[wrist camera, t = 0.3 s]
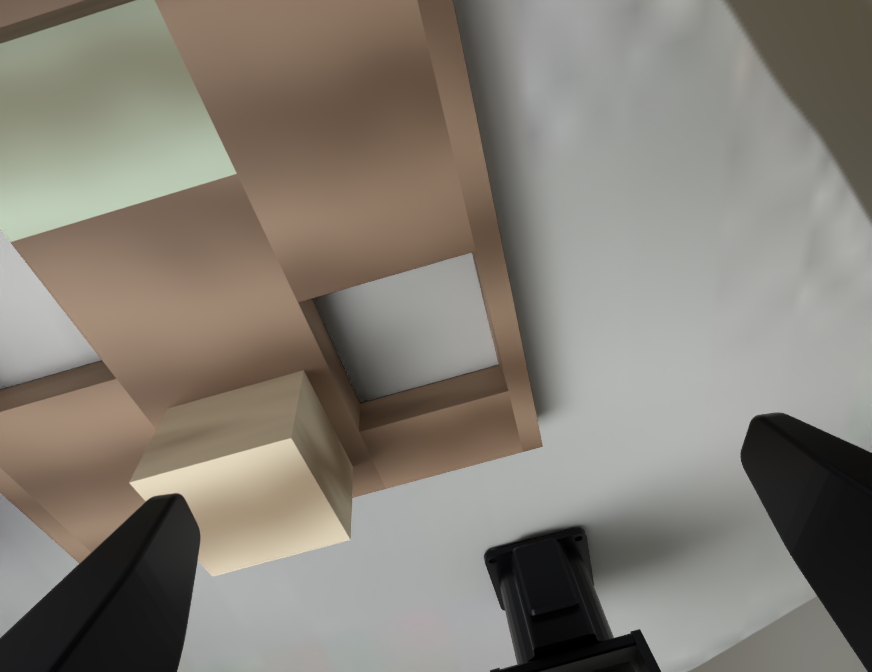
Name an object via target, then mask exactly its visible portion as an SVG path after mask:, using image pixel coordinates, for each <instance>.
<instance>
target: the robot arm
mask: <svg viewBox="0 0 872 672" xmlns="http://www.w3.org/2000/svg"><path fill="white" fill-rule="evenodd" d="M741 462H742V465H743V468H744V470H745V472H746V474H747V476H748V477H749V479H750V481H751V483H752V485H753V487H754V489H755V490H756V492H757V494H758V496H759V498H760V500H761V502H762V504H763V505H764V507H765V509H766V511H767V513H768V515H769V517H770V518H771V520H772V522H773V524H774V526H775V528H776V530H777V532H778V533H779V535H780V537H781V539H782V541H783V543H784V544H785V546H786V548H787V550H788V551H789V553H790V555H791V556H792V558H793V559H794V561H795V563H796V564H797V566H798V567H799V569H800V571H801V572H802V574H803V575H804V577H805V578H806V580H807V581H808V583H809V584H810V586H811V587H812V589H813V590H814V592H815V593H816V595H817V596H818V598H819V599H820V601H821V602H822V603H823V605H824V607H825V608H826V610H827V611H828V612H829V614H830V616H831V617H832V619H833V620H834V622H835V623H836V625H837V626H838V628H839V629H840V631H841V632H842V634H843V635H844V637H845V638H846V640H847V641H848V643H849V644H850V646H851V647H852V649H853V650H854V652H855V653H856V655H857V656H858V658H859V659H860V661H861V662H862V664H863V665H864V667H865V668H866V670H867V671H868V672H872V453H871V452H869V451H866V450H864V449H862V448H860V447H858V446H855V445H853V444H851V443H849V442H847V441H844V440H842V439H840V438H838V437H836V436H833V435H831V434H829V433H827V432H825V431H822V430H820V429H818V428H816V427H814V426H811V425H809V424H807V423H805V422H802V421H800V420H798V419H796V418H794V417H791V416H789V415H787V414H784V413H770V414H762V415H757V416H755V417H754V418H753V419H752V420H751V422H750V424H749V428H748V431H747V434H746V437H745V440H744V443H743V446H742V449H741ZM200 541H201V535H200V529H199V526H198V524H197V522H196V520H195V518H194V516H193V514H192V512H191V510H190V508H189V506H188V504H187V502H186V500H185V498H184V496H182V495H181V494H179V493H172V494H165V495H158V496H154V497H151V498H149V499H148V500H147V501H146V502H145V503H144V504H142V505H141V506H140V507H139V508H138V509H137V510H136V511H135V512H134V513H133V514H132V515H131V516H130V517H129V518H128V519H127V520H125V521H124V522H123V523H122V524H121V525H120V526H119V527H118V528H117V529H116V530H115V531H114V532H113V533H112V534H111V535H109V536H108V537H107V538H106V539H105V540H104V541H103V542H102V543H101V544H100V545H99V546H98V547H97V548H96V549H95V550H94V551H92V552H91V553H90V554H89V555H88V556H87V557H86V558H85V559H84V560H83V561H82V562H81V563H80V564H79V565H78V566H76V567H75V568H74V569H73V570H72V571H71V572H70V573H69V574H68V575H67V576H66V577H65V578H64V579H63V580H62V581H61V582H59V583H58V584H57V585H56V586H55V587H54V588H53V589H52V590H51V591H50V592H49V593H48V594H47V595H46V596H45V597H44V598H42V599H41V600H40V601H39V602H38V603H37V604H36V605H35V606H34V607H33V608H32V609H31V610H30V611H29V612H28V613H26V614H25V615H24V616H23V617H22V618H21V619H20V620H19V621H18V622H17V623H16V624H15V625H14V626H13V627H12V628H11V629H9V630H8V631H7V632H6V633H5V634H4V635H3V636H2V637H1V638H0V672H177V670H178V666H179V662H180V658H181V654H182V650H183V646H184V641H185V635H186V630H187V624H188V618H189V611H190V605H191V599H192V592H193V586H194V580H195V574H196V567H197V561H198V555H199V548H200ZM484 560H485V564H486V567H487V570H488V573H489V575H490V578H491V581H492V584H493V587H494V589H495V592H496V595H497V598H498V601H499V604H500V606H501V609H502V610H505V612H506V616H507V621H508V625H509V629H510V634H511V638H512V643H513V647H514V651H515V656H516V660H517V664H518V665H515V666H511V667H507V668H504V669H500V668H497V669H493V670H490V672H661V671H660V669H659V666H658V664H657V662H656V660H655V658H654V656H653V654H652V652H651V650H650V648H649V646H648V644H647V642H646V640H645V638H644V636H643V634H642V632H641V630H640V629H638V630H635V631H631V632H630V633H631V634H627V635H624V636H620V637H617V638H614V637H613V634H612V632H611V629H610V627H609V624H608V622H607V619H606V616H605V614H604V611H603V609H602V606H601V604H600V601H599V599H598V596H597V594H596V591H595V588H594V582H593V575H592V569H591V563H590V556H589V550H588V543H587V537H586V534H585V532H584V530H583V529H581V528H575V529H572V530H568V531H564V532H560V533H556V534H552V535H549V536H545V537H541V538H537V539H533V540H529V541H526V542H522V543H518V544H514V545H510V546H506V547H502V548H499V549H495V550H491V551H488V552H486V553H485V554H484Z"/></svg>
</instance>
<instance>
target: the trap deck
mask: <svg viewBox="0 0 872 672" xmlns="http://www.w3.org/2000/svg"><path fill="white" fill-rule="evenodd" d="M0 230H1V231H2V232H3V233H4V235H5V236H6V237H7V239H8V240H9V241H10V242H11V244H12V245H13V246H14V248H15V249H16V250H17V251H18V253H19V254H20V255H21V257H22V258H23V259H24V260H25V262H26V263H27V264H28V266H29V267H30V268H31V269H32V271H33V272H34V273H35V275H36V276H37V277H38V278H39V280H40V281H41V282H42V284H43V285H44V286H45V287H46V289H47V290H48V291H49V293H50V294H51V295H52V296H53V298H54V299H55V300H56V302H57V303H58V304H59V305H60V307H61V308H62V309H63V311H64V312H65V313H66V314H67V316H68V317H69V318H70V320H71V321H72V322H73V323H74V325H75V326H76V327H77V329H78V330H79V331H80V332H81V334H82V335H83V336H84V338H85V339H86V340H87V341H88V343H89V344H90V345H91V347H92V348H93V349H94V350H95V352H96V353H97V354H98V356H99V357H100V358H101V359H102V361H99V362H96V363H92V364H89V365H85V366H82V367H78V368H75V369H71V370H68V371H64V372H61V373H57V374H54V375H50V376H47V377H43V378H40V379H37V380H33V381H30V382H26V383H23V384H19V385H16V386H12V387H9V388H5V389H2V390H0V493H1V494H2V495H3V496H5V497H6V498H7V499H8V500H9V501H10V502H11V503H12V504H13V505H15V506H16V507H17V508H18V509H19V510H20V511H21V512H22V513H24V514H25V515H26V516H27V517H28V518H29V519H30V520H31V521H32V522H34V523H35V524H36V525H37V526H38V527H39V528H40V529H41V530H43V531H44V532H45V533H46V534H47V535H48V536H49V537H50V538H52V539H53V540H54V541H55V542H56V543H57V544H58V545H59V546H60V547H62V548H63V549H64V550H65V551H66V552H67V553H68V554H69V555H71V556H72V557H73V558H74V559H75V560H76V561H77V562H78V563H81V562H82V561H83V560H84V559H85V558H86V557H87V556H88V555H89V554H90V553H91V552H92V551H94V550H95V549H96V548H97V547H98V546H99V545H100V544H101V543H102V542H103V541H104V540H105V539H106V538H107V537H108V536H109V535H111V534H112V533H113V532H114V531H115V530H116V529H117V528H118V527H119V526H120V525H121V524H122V523H123V522H124V521H125V520H127V519H128V518H129V517H130V516H131V515H132V514H133V513H134V512H135V511H136V510H137V509H138V508H139V507H140V506H141V505H142V504H144V503H145V502H146V501H145V500H144V499H143V498H142V497H141V496H140V495H139V493H138V492H137V491H136V490H135V489H134V488H133V487H132V486H131V484H130V483H129V482H130V480H131V478H132V476H133V474H134V472H135V470H136V468H137V466H138V464H139V462H140V460H141V458H142V456H143V455H144V453H145V451H146V449H147V447H148V445H149V443H150V441H151V439H152V437H153V435H154V433H155V431H156V429H157V427H158V426H159V424H160V422H161V420H162V418H163V416H164V414H165V412H166V410H167V409H168V408H171V407H175V406H179V405H182V404H186V403H189V402H193V401H196V400H200V399H203V398H207V397H211V396H214V395H218V394H221V393H225V392H228V391H232V390H235V389H239V388H242V387H246V386H250V385H253V384H257V383H260V382H264V381H267V380H271V379H274V378H278V377H281V376H285V375H289V374H292V373H296V372H299V371H303V370H304V372H305V374H306V376H307V378H308V380H309V381H310V383H311V385H312V387H313V389H314V391H315V393H316V395H317V397H318V399H319V401H320V403H321V405H322V407H323V409H324V411H325V413H326V415H327V417H328V419H329V421H330V423H331V425H332V427H333V428H334V430H335V432H336V434H337V436H338V438H339V440H340V442H341V444H342V446H343V448H344V450H345V452H346V454H347V456H348V458H349V460H350V462H351V464H352V466H353V485H352V498H353V497H357V496H361V495H364V494H368V493H372V492H375V491H379V490H383V489H387V488H390V487H394V486H398V485H402V484H405V483H409V482H413V481H416V480H420V479H424V478H428V477H431V476H435V475H439V474H442V473H446V472H450V471H454V470H457V469H461V468H465V467H469V466H472V465H476V464H480V463H483V462H487V461H491V460H495V459H498V458H502V457H506V456H509V455H513V454H517V453H521V452H524V451H528V450H532V449H536V448H539V447H543V446H542V441H541V436H540V431H539V426H538V421H537V416H536V411H535V406H534V401H533V396H532V391H531V386H530V381H529V376H528V371H527V366H526V361H525V356H524V351H523V346H522V341H521V336H520V331H519V326H518V322H517V317H516V312H515V307H514V302H513V297H512V292H511V287H510V282H509V277H508V272H507V267H506V262H505V257H504V252H503V247H502V242H501V237H500V232H499V227H498V222H497V217H496V212H495V207H494V202H493V197H492V192H491V187H490V182H489V177H488V172H487V167H486V163H485V158H484V153H483V148H482V143H481V138H480V133H479V128H478V123H477V118H476V113H475V108H474V103H473V98H472V93H471V88H470V83H469V78H468V73H467V68H466V63H465V58H464V53H463V48H462V43H461V38H460V33H459V28H458V23H457V18H456V13H455V8H454V4H453V0H0ZM471 252H472V254H473V258H474V262H475V267H476V271H477V275H478V279H479V283H480V288H481V292H482V296H483V300H484V304H485V308H486V313H487V317H488V321H489V325H490V329H491V334H492V338H493V342H494V346H495V350H496V355H497V359H498V363H499V365H498V366H494V367H491V368H487V369H484V370H480V371H476V372H473V373H469V374H465V375H462V376H458V377H455V378H451V379H447V380H444V381H440V382H437V383H433V384H429V385H426V386H422V387H419V388H415V389H411V390H408V391H404V392H401V393H397V394H393V395H390V396H386V397H383V398H379V399H375V400H372V401H368V402H364V403H361V404H360V403H359V400H358V398H357V396H356V394H355V392H354V389H353V387H352V385H351V383H350V381H349V378H348V376H347V374H346V372H345V370H344V367H343V365H342V363H341V361H340V359H339V356H338V354H337V352H336V350H335V348H334V345H333V343H332V341H331V339H330V337H329V334H328V332H327V330H326V328H325V326H324V323H323V321H322V319H321V317H320V315H319V312H318V310H317V308H316V306H315V303H314V301H313V299H312V298H315V297H318V296H322V295H325V294H329V293H332V292H336V291H339V290H343V289H346V288H350V287H353V286H357V285H360V284H364V283H367V282H371V281H374V280H377V279H381V278H384V277H388V276H391V275H395V274H398V273H402V272H405V271H409V270H412V269H416V268H419V267H423V266H426V265H430V264H433V263H436V262H440V261H443V260H447V259H450V258H454V257H457V256H461V255H464V254H468V253H471Z"/></svg>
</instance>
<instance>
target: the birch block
mask: <svg viewBox="0 0 872 672" xmlns="http://www.w3.org/2000/svg"><path fill="white" fill-rule="evenodd" d="M129 483H130V484H131V486H132V487H133V488H134V489H135V490H136V491H137V492H138V493H139V495H140V496H141V497H142V498H143V499H144V500H145V501H147V500H148V499H149V498H151V497H154V496H158V495H165V494H172V493H179V494H181V495H182V496H184V498H185V500H186V502H187V504H188V506H189V508H190V510H191V512H192V514H193V516H194V518H195V520H196V522H197V524H198V526H199V529H200V535H201V541H200V548H199V555H198V561H199V562H200V563H201V564H202V565H203V566H204V568H205V569H206V570H207V571H208V572H209V573H210V574H211V575H212V577H213V576H216V575H220V574H224V573H228V572H231V571H235V570H239V569H243V568H247V567H250V566H254V565H258V564H262V563H265V562H269V561H273V560H277V559H281V558H284V557H288V556H292V555H296V554H299V553H303V552H307V551H311V550H315V549H318V548H322V547H326V546H330V545H333V544H337V543H341V542H345V541H348V540H350V539H351V512H352V485H353V466H352V464H351V462H350V460H349V458H348V456H347V454H346V452H345V450H344V448H343V446H342V444H341V442H340V440H339V438H338V436H337V434H336V432H335V430H334V428H333V427H332V425H331V423H330V421H329V419H328V417H327V415H326V413H325V411H324V409H323V407H322V405H321V403H320V401H319V399H318V397H317V395H316V393H315V391H314V389H313V387H312V385H311V383H310V381H309V380H308V378H307V376H306V374H305V372H304V370H303V371H299V372H296V373H292V374H289V375H285V376H281V377H278V378H274V379H271V380H267V381H264V382H260V383H257V384H253V385H250V386H246V387H242V388H239V389H235V390H232V391H228V392H225V393H221V394H218V395H214V396H211V397H207V398H203V399H200V400H196V401H193V402H189V403H186V404H182V405H179V406H175V407H171V408H168V409H167V410H166V412H165V414H164V416H163V418H162V420H161V422H160V424H159V426H158V427H157V429H156V431H155V433H154V435H153V437H152V439H151V441H150V443H149V445H148V447H147V449H146V451H145V453H144V455H143V456H142V458H141V460H140V462H139V464H138V466H137V468H136V470H135V472H134V474H133V476H132V478H131V480H130V482H129Z"/></svg>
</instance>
